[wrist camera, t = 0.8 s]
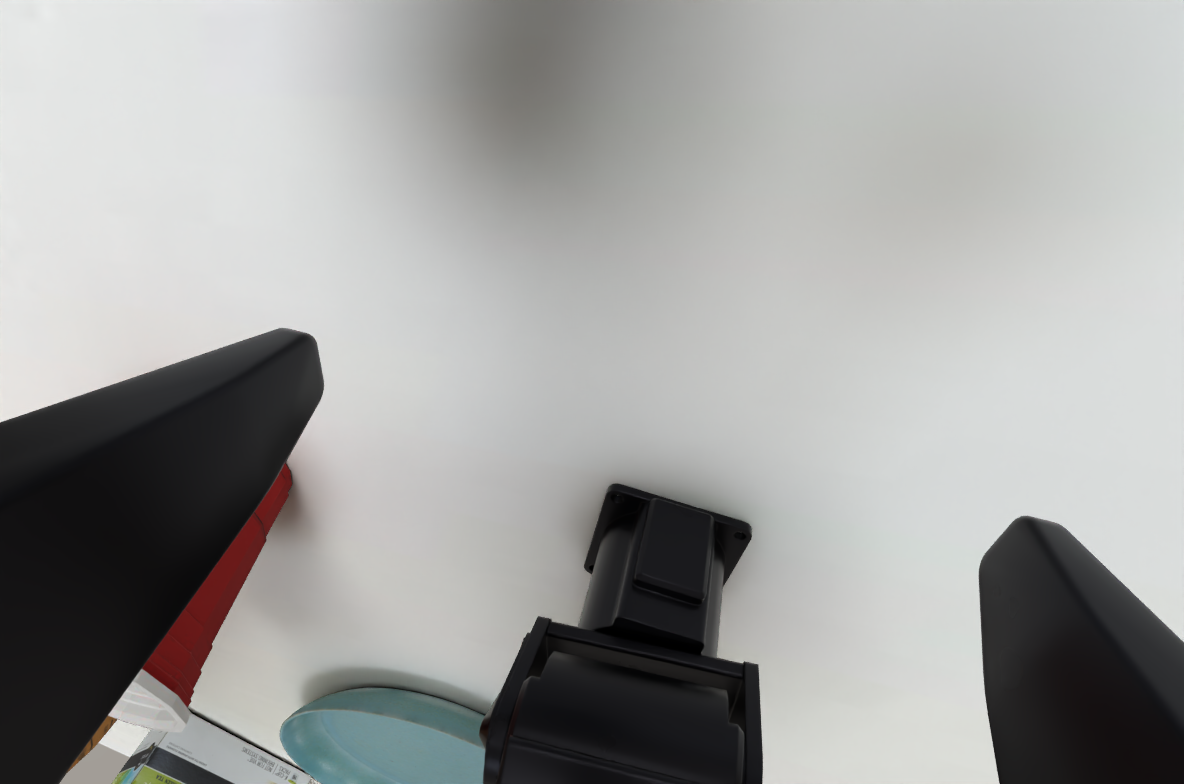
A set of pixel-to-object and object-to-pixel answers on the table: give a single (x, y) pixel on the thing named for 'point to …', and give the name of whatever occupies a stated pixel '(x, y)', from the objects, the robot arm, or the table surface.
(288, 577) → the table surface
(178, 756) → the tea box
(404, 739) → the teal plate
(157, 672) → the plastic cup
